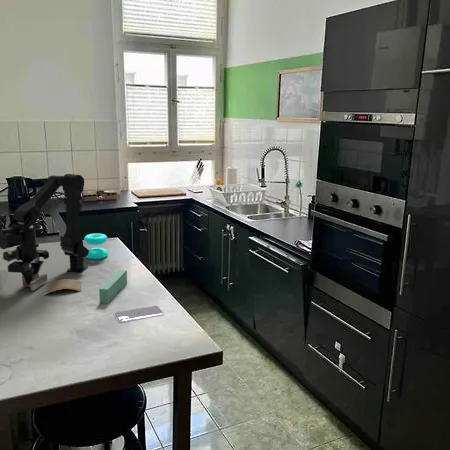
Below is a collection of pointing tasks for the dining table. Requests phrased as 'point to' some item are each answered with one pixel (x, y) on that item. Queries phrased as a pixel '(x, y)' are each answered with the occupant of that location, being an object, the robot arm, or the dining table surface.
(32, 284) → the tan block on bar
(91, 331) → the dining table surface
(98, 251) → the donuts
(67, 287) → the clay tablet
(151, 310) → the mobile phone
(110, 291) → the bar
